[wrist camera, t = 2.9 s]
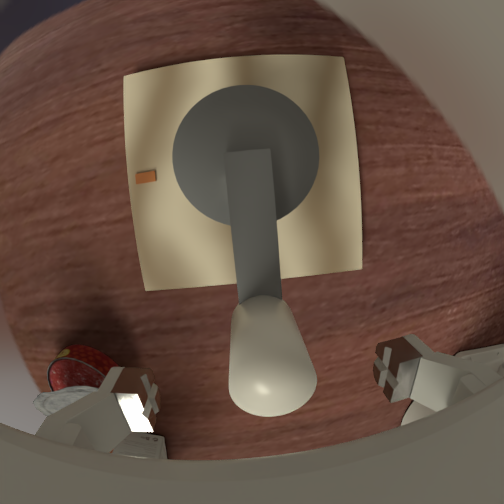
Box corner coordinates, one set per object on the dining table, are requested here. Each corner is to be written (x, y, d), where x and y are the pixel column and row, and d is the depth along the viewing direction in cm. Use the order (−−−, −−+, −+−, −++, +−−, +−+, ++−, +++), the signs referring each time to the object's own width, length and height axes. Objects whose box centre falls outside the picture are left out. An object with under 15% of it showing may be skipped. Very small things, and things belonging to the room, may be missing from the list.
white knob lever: (301, 94, 14) (354, 27, 6) (316, 313, 17) (365, 399, 9) (176, 105, 14) (124, 43, 6) (203, 325, 17) (182, 421, 9)
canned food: (119, 330, 30) (130, 370, 22) (134, 400, 31) (152, 449, 23) (31, 338, 25) (14, 380, 16) (55, 409, 26) (52, 461, 17)
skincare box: (121, 425, 28) (85, 518, 14) (167, 435, 29) (145, 536, 14) (130, 460, 30) (106, 541, 16) (171, 469, 31) (157, 554, 16)
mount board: (337, 63, 20) (369, 29, 14) (355, 264, 25) (392, 292, 18) (129, 81, 20) (95, 52, 13) (150, 284, 24) (122, 320, 17)
